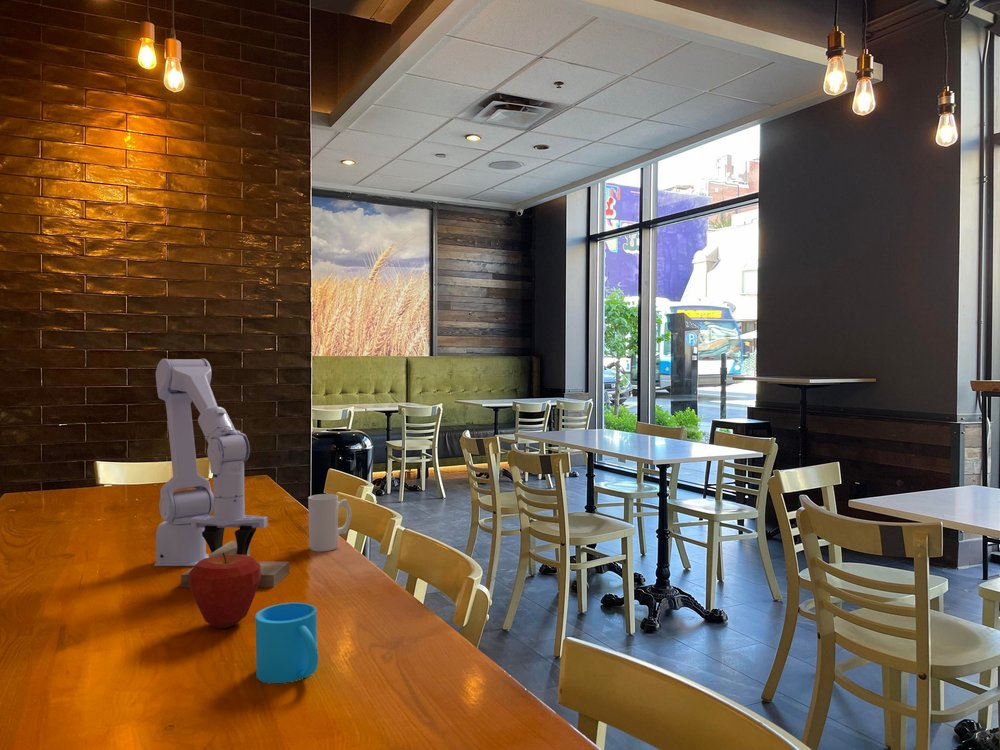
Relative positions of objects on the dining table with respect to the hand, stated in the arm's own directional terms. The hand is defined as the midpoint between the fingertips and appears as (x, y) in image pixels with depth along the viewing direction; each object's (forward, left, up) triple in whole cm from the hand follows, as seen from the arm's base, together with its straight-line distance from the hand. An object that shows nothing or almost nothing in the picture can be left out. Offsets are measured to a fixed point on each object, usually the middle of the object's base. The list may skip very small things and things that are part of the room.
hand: (230, 564), depth 139 cm
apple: (+9, -24, -3) cm, 26 cm away
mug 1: (+26, -42, -3) cm, 50 cm away
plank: (+1, 0, -3) cm, 3 cm away
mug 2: (+13, +25, -3) cm, 29 cm away
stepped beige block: (0, -1, -3) cm, 3 cm away
